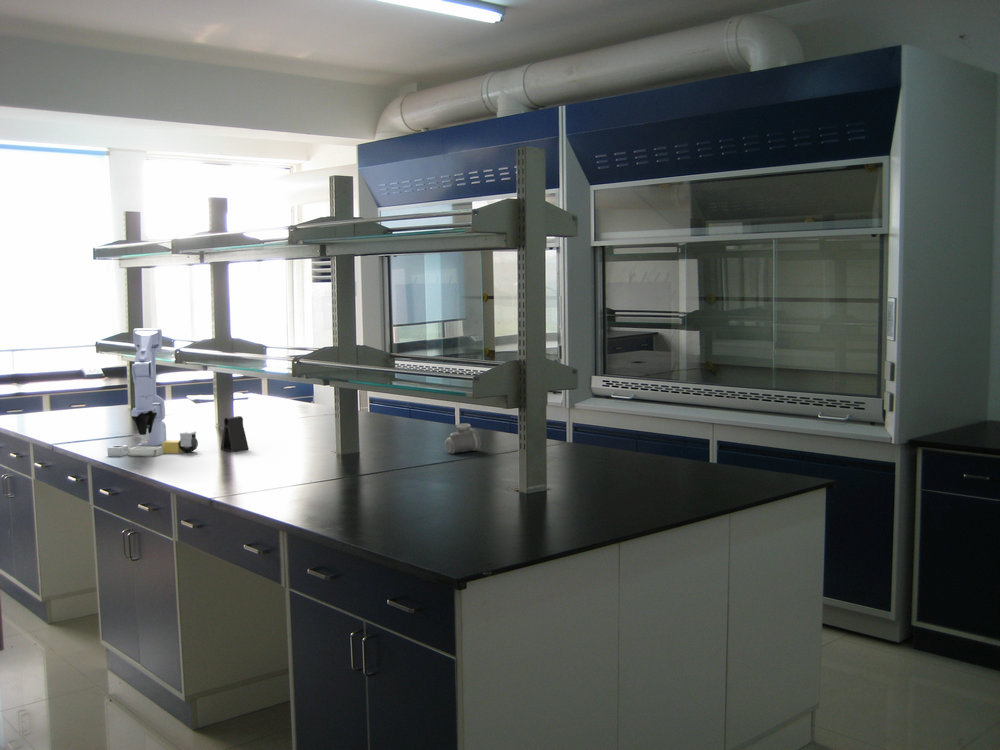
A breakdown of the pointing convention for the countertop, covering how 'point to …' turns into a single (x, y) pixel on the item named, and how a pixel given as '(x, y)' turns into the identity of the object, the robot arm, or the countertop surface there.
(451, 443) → the pipe fitting
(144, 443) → the stop pin
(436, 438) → the countertop surface
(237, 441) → the phone stand
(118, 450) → the socket block
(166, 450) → the block
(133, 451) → the tray
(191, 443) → the castor
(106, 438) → the countertop surface
